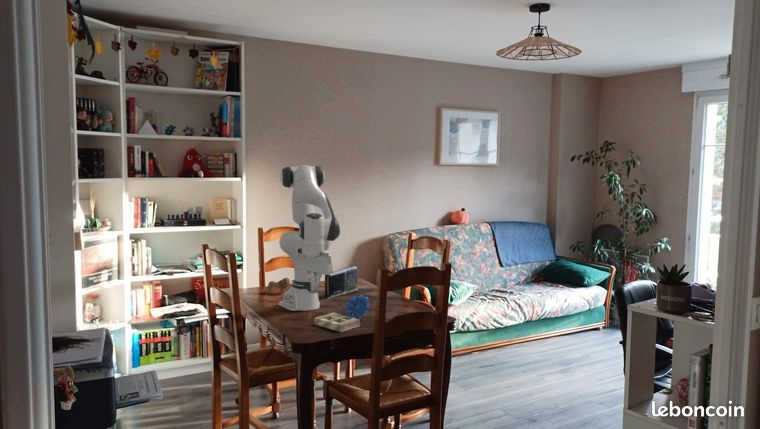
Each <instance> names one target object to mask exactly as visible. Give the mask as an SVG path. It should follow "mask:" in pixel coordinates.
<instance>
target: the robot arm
mask: <svg viewBox="0 0 760 429" xmlns="http://www.w3.org/2000/svg"><path fill="white" fill-rule="evenodd" d="M325 175H326V174H325V172H324V169H323V168H322V166H318V165H307V164H302V165H298V166H297V165H295V166H291V167H290V166H285V167H284V168H282V169H281V172H280V174H279V178H280V182H281V184H282V186H283V187H284V188H288V189H291V188H293V189H292V194H291V210H292V211H291V212H292V213H291V214H292V219H293V222H294V223H296V224H297V225H298V227H299V228H298V229H299V230H292V231H291V230H290V231H288V232H283V233H282V234H281V236H280V238H279V242H278V244H279V247H280V249H281V251H283V253H285V254H286V255H287V256H288V257H289V258H290V259H291V261H292V265H293V272H294V276H293V278H294V279H293V280H291V281H290V284H291V286H290V288H289V289H288V290H286V291H285V292H284V293H283V294H282V295H283V296H282V301H279V302H278V303H277V305H278V306H280V307H282V308H284V309H286V310H288V311H292V312H293V311H294V312H296V311H303V312H305V311H314V310H318V309H320V307H321V306H320V305H321V302H320V300H319V298H320V297H319V291H318V292H317V293H311V292H310V275H311V272H315V273H317V275H318V276H317V278H316V279H315V282H316V283H318V284H320V283H321V278H322V276H323V275H324V276H325V275H329V274H331V273H332V272H333V270H334V269H333V261H332V257H331V255H330V253H328V252H325V251H328V250H329V249H330V247H331V245H332V242H334V241H336V239H338V238H339V236H340V234H341V227H340V223H339V221H338V219H337V217H336V215H335V213H334V209H333V208H332V207H333V206H332V204H331V202H330V200H329V196H328V195H327V194H326V192H324V191H322V190H321V188H320V187H322V185H323V184H324V182H325V179H326V178H325ZM315 207H316V208H319V209H320V210H321V212H322V214H323V215H322V214H320V213H317V212H315Z"/></svg>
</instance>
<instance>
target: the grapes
mask: <svg viewBox="0 0 760 429" xmlns="http://www.w3.org/2000/svg"><path fill="white" fill-rule="evenodd" d="M345 307H346V308H345V314H346V315H348V317H352V318H355V319H359V320H361V318H362V316H366V315H367V314H368V309H369V308H370V307H371V304H370V302H369V297H368V296H364V295H363V294H360V293H359V294H358V295H357V296H356V295H353V296H351V297H350V300H349V301H347V302H346V303H345Z"/></svg>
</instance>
